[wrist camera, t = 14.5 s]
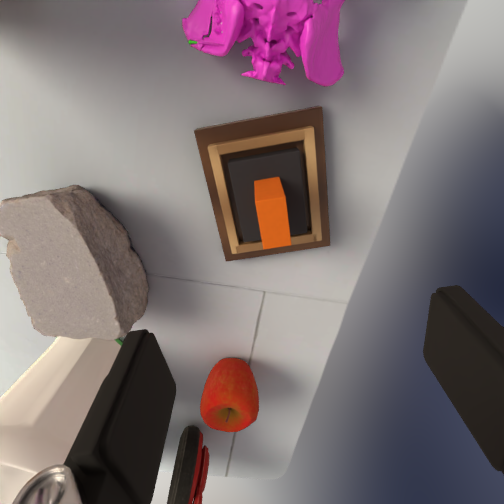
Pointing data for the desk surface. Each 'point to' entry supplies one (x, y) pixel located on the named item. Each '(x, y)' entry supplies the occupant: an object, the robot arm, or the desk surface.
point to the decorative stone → (73, 264)
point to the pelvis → (271, 35)
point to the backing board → (256, 142)
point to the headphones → (189, 469)
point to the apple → (230, 396)
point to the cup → (49, 408)
